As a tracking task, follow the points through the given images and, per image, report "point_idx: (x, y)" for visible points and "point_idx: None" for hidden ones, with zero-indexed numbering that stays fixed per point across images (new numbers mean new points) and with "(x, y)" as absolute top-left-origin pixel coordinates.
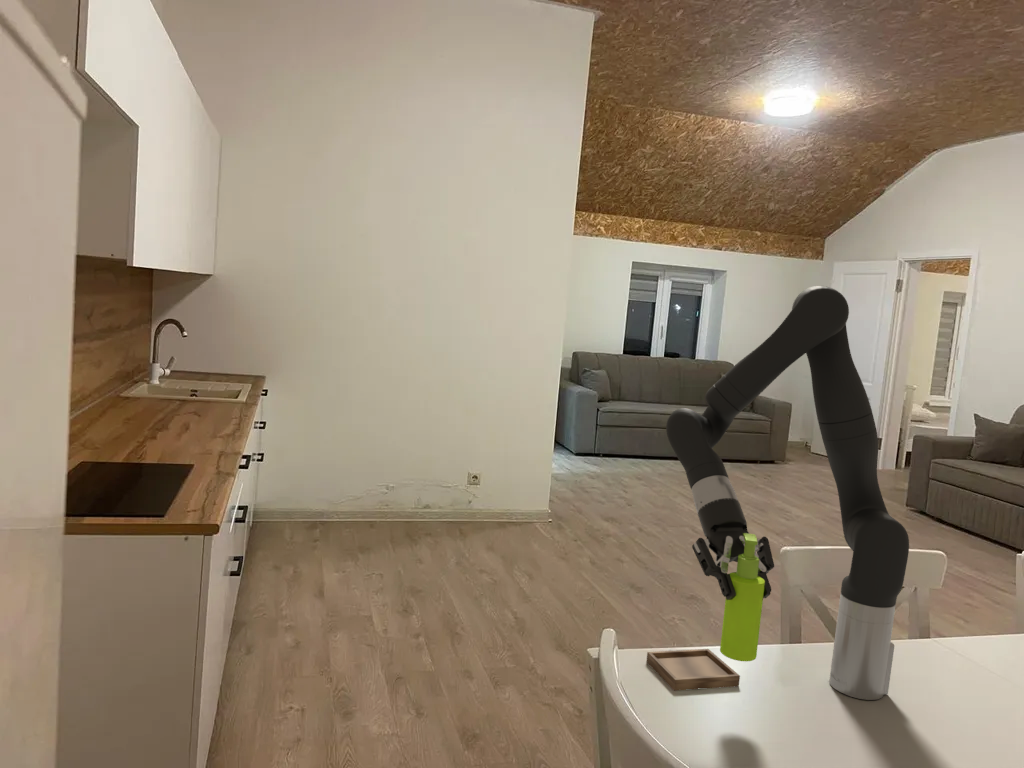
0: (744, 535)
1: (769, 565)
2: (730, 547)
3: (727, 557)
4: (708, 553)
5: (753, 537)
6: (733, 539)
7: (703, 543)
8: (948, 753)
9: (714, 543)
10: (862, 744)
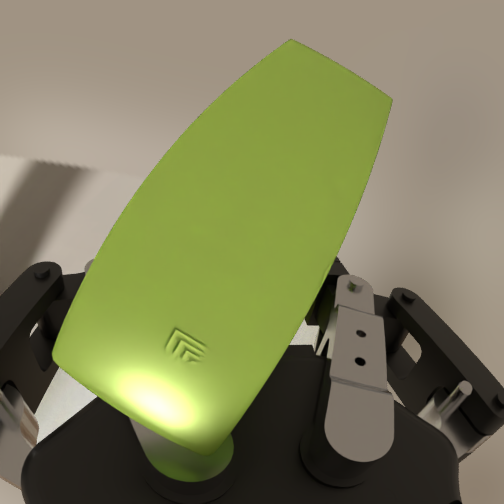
0: (355, 208)
1: (53, 272)
2: (338, 372)
3: (356, 312)
4: (448, 348)
5: (275, 96)
6: (269, 478)
7: (487, 391)
8: (12, 167)
9: (427, 422)
10: (78, 197)
